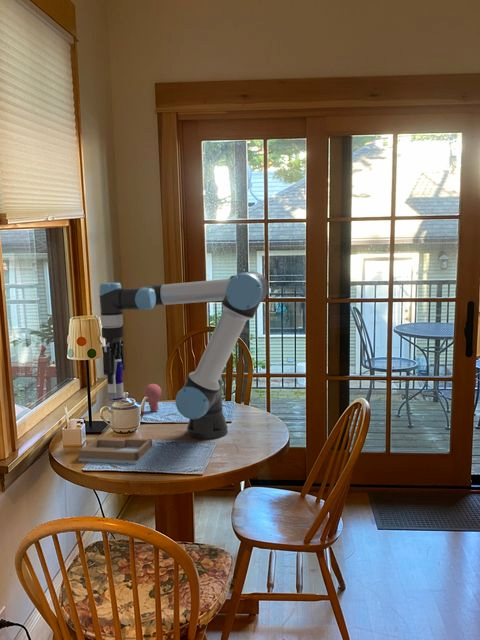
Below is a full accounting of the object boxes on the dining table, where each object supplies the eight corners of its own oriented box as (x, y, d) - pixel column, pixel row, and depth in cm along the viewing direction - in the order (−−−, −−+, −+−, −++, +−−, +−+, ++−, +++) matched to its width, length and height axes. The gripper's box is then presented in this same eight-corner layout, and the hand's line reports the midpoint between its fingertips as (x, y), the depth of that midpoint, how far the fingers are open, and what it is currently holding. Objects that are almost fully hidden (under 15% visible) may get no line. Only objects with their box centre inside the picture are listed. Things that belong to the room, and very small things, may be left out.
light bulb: (143, 413, 242) (141, 385, 240) (148, 408, 249) (147, 381, 247) (159, 414, 240) (158, 386, 239) (164, 409, 247) (163, 382, 246)
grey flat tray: (153, 447, 200) (152, 438, 199) (136, 464, 184) (135, 454, 184) (99, 444, 204) (99, 435, 203) (78, 461, 188) (78, 451, 188)
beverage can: (120, 403, 203) (117, 361, 201) (105, 402, 204) (103, 361, 202) (126, 398, 208) (124, 358, 206) (112, 398, 209) (110, 358, 207)
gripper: (113, 323, 212) (116, 384, 215) (90, 330, 194) (94, 396, 197) (132, 323, 211) (135, 384, 214) (111, 330, 193) (114, 397, 196)
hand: (115, 390), depth 205 cm, fingers closed on beverage can, 5 cm apart
